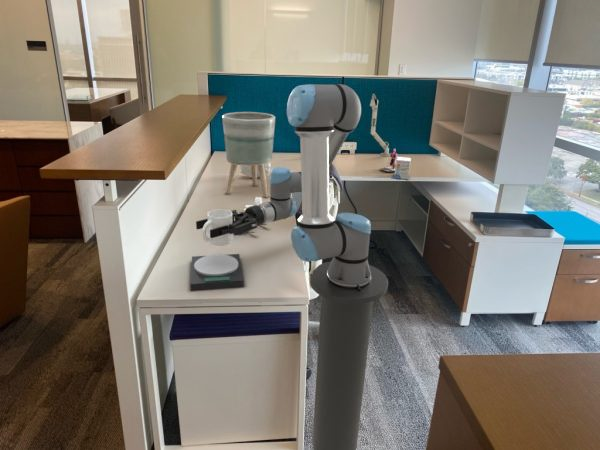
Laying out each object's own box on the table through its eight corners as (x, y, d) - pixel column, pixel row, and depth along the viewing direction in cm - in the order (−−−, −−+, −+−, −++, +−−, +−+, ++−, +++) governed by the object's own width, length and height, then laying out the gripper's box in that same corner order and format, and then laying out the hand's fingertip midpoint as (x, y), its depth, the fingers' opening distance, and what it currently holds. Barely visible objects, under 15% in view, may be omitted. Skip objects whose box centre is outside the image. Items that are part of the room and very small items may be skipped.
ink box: (394, 178, 273) (396, 159, 269) (394, 174, 281) (396, 156, 277) (408, 179, 272) (410, 160, 267) (408, 175, 279) (410, 157, 275)
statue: (391, 170, 295) (395, 147, 291) (400, 173, 287) (405, 150, 283) (378, 169, 290) (382, 146, 285) (386, 173, 282) (391, 149, 278)
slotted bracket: (243, 215, 207) (243, 199, 204) (245, 210, 213) (245, 194, 210) (271, 216, 206) (271, 200, 204) (272, 211, 213) (272, 195, 210)
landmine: (241, 215, 199) (270, 222, 193) (241, 221, 200) (270, 227, 194) (222, 225, 187) (253, 233, 181) (223, 231, 188) (253, 239, 182)
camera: (240, 175, 268) (239, 149, 262) (269, 175, 270) (270, 149, 264) (240, 180, 258) (239, 153, 252) (271, 180, 260) (271, 153, 254)
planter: (276, 199, 228) (278, 120, 213) (224, 200, 224) (222, 119, 209) (271, 184, 253) (272, 112, 237) (224, 185, 249) (222, 111, 233)
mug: (211, 252, 145) (210, 223, 141) (194, 244, 150) (193, 216, 146) (238, 241, 154) (237, 213, 150) (221, 234, 158) (220, 207, 154)
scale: (243, 286, 147) (243, 278, 146) (190, 290, 143) (190, 281, 142) (239, 259, 165) (239, 251, 164) (192, 262, 161) (191, 254, 160)
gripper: (277, 233, 155) (221, 251, 141) (242, 216, 170) (188, 229, 155) (277, 213, 152) (220, 229, 138) (242, 197, 167) (187, 209, 153)
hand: (203, 229), depth 147 cm, fingers closed on mug, 8 cm apart
